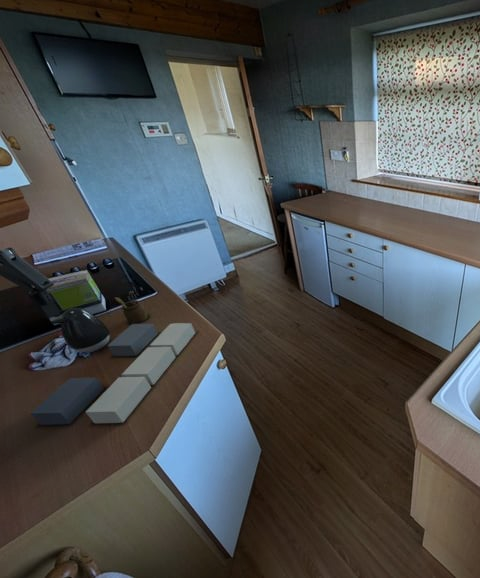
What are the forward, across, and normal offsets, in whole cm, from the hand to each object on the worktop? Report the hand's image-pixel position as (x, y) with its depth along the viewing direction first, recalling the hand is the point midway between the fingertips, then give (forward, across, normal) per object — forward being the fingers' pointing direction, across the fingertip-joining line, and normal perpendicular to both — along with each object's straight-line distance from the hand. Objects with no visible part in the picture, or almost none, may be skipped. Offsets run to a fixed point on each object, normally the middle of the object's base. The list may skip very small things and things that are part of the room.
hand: (22, 315), depth 67 cm
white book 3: (+27, +14, +20) cm, 36 cm away
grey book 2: (+27, +1, +20) cm, 33 cm away
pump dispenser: (+27, -12, +19) cm, 35 cm away
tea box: (+27, -33, +39) cm, 58 cm away
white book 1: (+27, +14, -4) cm, 30 cm away
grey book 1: (+27, +1, -4) cm, 27 cm away
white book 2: (+27, +14, +8) cm, 31 cm away
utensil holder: (+27, -8, +34) cm, 44 cm away
